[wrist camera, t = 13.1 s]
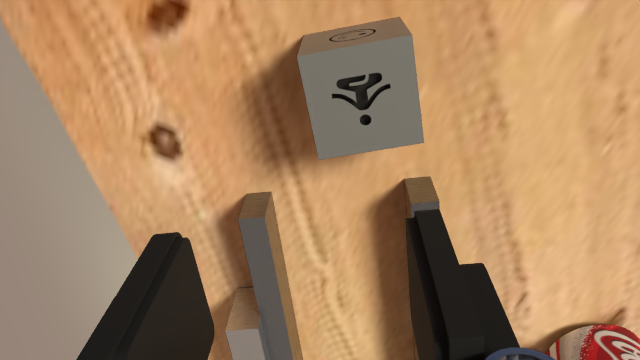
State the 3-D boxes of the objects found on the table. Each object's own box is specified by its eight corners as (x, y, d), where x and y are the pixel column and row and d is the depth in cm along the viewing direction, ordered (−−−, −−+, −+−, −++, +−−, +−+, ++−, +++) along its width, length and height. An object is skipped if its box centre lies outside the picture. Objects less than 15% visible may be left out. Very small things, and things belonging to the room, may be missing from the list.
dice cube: (399, 16, 26) (412, 34, 21) (410, 108, 28) (424, 142, 23) (304, 34, 26) (296, 56, 22) (322, 123, 29) (318, 160, 24)
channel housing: (464, 409, 38) (477, 459, 35) (269, 420, 39) (262, 469, 36) (464, 173, 29) (482, 206, 26) (214, 196, 31) (198, 232, 27)
